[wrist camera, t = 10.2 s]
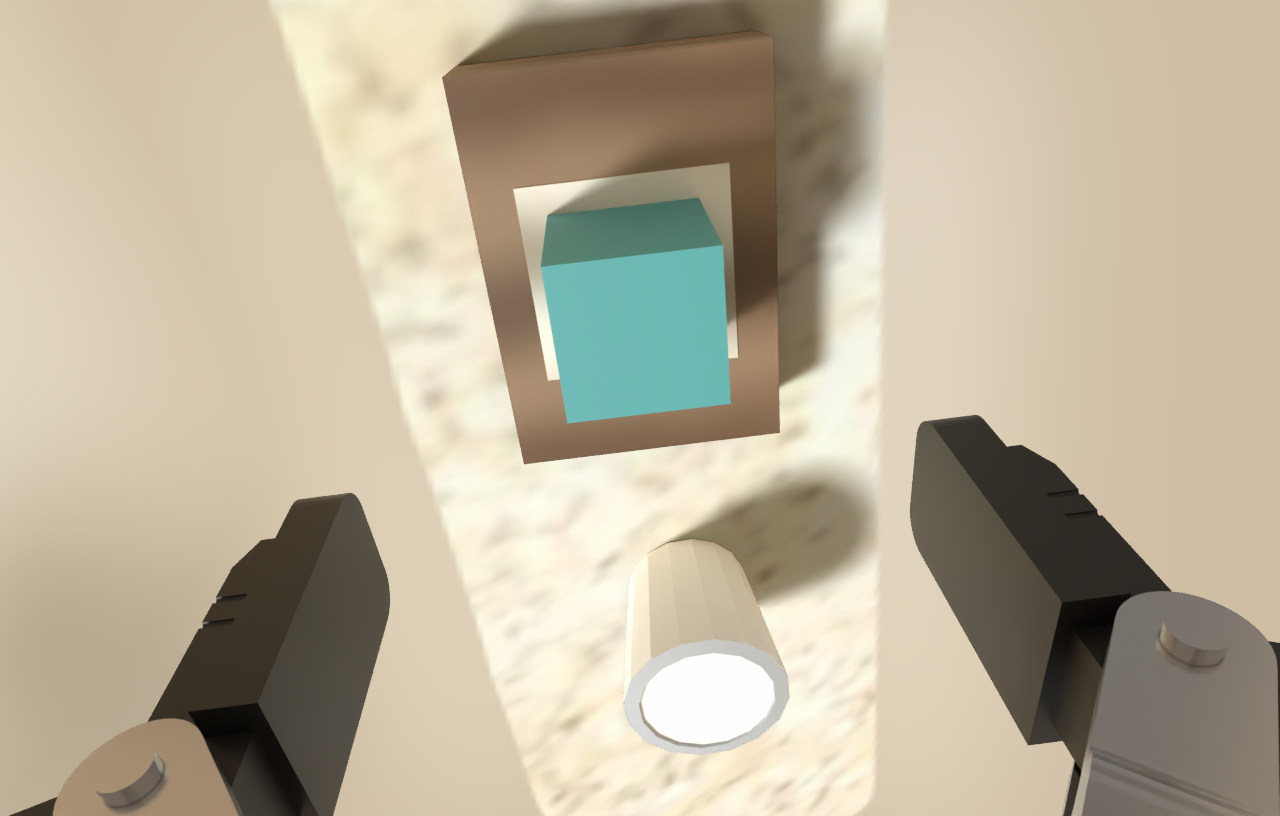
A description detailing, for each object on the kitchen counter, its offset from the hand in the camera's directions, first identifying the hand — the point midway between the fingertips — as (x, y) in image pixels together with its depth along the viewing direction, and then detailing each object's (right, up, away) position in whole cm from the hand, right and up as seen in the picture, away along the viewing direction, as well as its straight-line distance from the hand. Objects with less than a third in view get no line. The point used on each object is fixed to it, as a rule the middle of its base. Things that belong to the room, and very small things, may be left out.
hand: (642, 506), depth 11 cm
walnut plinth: (0, +7, +18) cm, 20 cm away
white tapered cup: (+2, -7, +27) cm, 28 cm away
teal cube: (0, +6, +16) cm, 17 cm away
